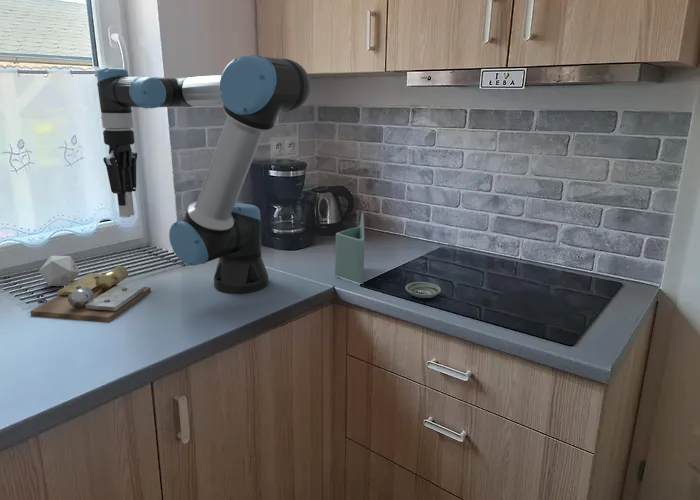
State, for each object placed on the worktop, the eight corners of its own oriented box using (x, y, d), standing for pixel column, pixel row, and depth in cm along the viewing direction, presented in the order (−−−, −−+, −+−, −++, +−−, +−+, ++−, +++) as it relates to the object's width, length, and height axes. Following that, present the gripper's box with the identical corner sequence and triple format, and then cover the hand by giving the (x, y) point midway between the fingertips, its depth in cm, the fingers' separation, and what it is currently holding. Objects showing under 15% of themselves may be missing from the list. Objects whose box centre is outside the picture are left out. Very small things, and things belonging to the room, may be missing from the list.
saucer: (399, 290, 148) (400, 282, 147) (431, 288, 150) (432, 280, 150) (412, 303, 139) (412, 295, 138) (446, 301, 142) (446, 292, 141)
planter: (334, 267, 165) (335, 206, 160) (360, 268, 166) (362, 206, 160) (335, 286, 150) (336, 218, 144) (363, 286, 150) (365, 219, 144)
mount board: (150, 291, 143) (150, 287, 143) (109, 321, 124) (108, 317, 124) (82, 286, 145) (81, 282, 145) (30, 315, 126) (30, 310, 126)
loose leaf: (130, 279, 147) (128, 265, 146) (101, 297, 134) (99, 282, 133) (90, 276, 149) (88, 262, 147) (57, 294, 135) (55, 279, 134)
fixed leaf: (144, 290, 140) (143, 275, 138) (115, 310, 126) (113, 295, 125) (102, 287, 141) (100, 272, 140) (69, 307, 128) (67, 291, 127)
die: (54, 295, 140) (76, 264, 141) (26, 277, 140) (48, 246, 141) (70, 295, 149) (91, 265, 149) (44, 278, 149) (64, 248, 150)
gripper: (119, 127, 148) (128, 209, 155) (88, 130, 134) (99, 221, 141) (145, 128, 147) (152, 210, 154) (116, 131, 133) (125, 222, 140)
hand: (127, 215), depth 147 cm, fingers closed
